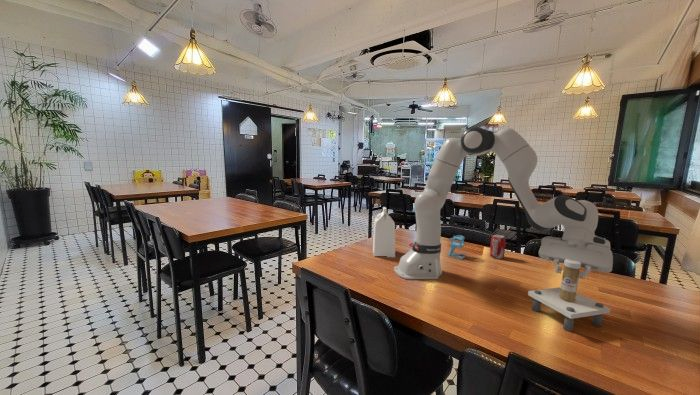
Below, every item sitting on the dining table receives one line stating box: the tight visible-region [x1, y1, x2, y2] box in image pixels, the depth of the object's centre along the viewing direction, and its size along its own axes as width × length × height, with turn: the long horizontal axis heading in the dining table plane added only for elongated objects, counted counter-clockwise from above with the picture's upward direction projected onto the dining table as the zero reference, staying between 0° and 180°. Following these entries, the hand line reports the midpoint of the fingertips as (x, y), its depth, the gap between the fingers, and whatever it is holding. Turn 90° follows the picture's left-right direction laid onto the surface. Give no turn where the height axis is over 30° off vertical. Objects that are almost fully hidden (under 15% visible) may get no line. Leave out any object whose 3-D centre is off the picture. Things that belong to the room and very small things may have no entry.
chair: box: [447, 234, 467, 260], centre depth 160 cm, size 8×8×12 cm
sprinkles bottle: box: [559, 259, 582, 302], centre depth 98 cm, size 5×5×14 cm
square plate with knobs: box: [527, 286, 612, 332], centre depth 100 cm, size 16×16×7 cm
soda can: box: [489, 234, 506, 260], centre depth 159 cm, size 7×7×12 cm
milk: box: [372, 206, 396, 258], centre depth 162 cm, size 12×12×26 cm
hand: (569, 275), depth 98 cm, fingers open, 5 cm apart
